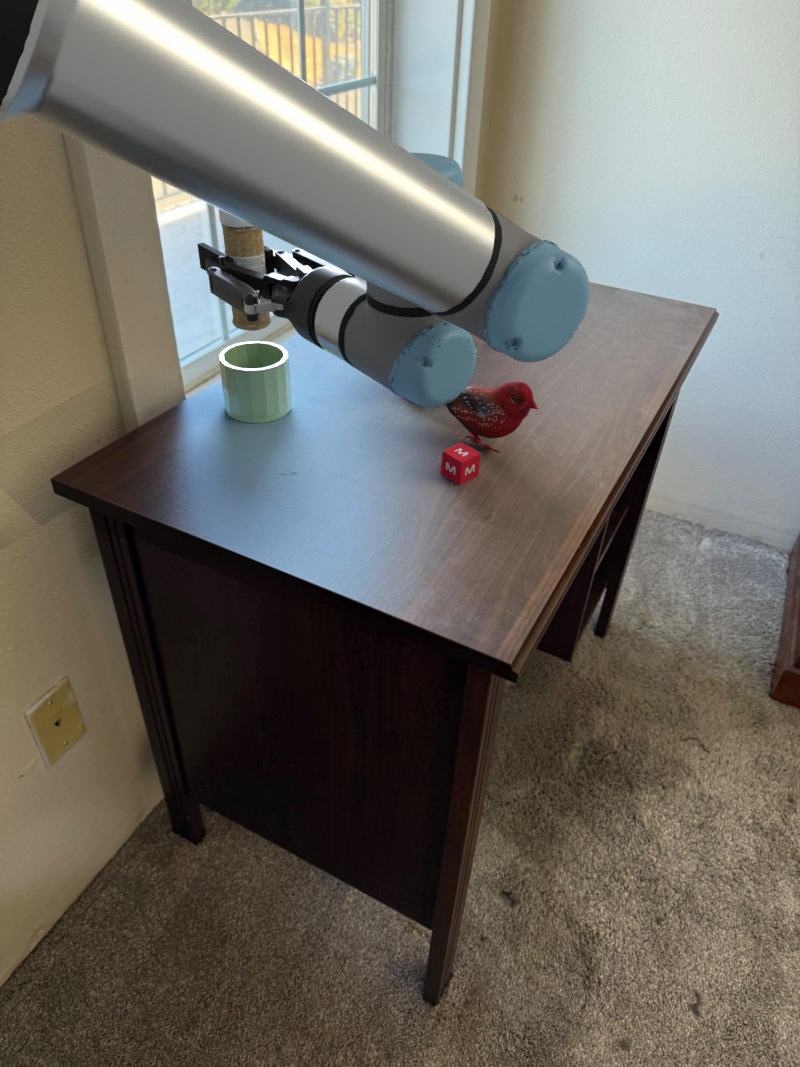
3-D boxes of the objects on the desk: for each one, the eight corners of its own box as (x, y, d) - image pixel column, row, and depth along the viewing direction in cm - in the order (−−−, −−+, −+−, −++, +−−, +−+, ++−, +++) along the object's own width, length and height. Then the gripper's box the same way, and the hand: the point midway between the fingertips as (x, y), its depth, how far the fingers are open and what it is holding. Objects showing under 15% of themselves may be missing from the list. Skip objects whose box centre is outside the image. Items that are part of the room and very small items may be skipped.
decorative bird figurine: (520, 474, 84) (533, 395, 78) (405, 418, 93) (408, 342, 87) (535, 465, 86) (549, 386, 79) (420, 410, 95) (424, 335, 89)
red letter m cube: (478, 476, 83) (481, 453, 81) (459, 485, 82) (461, 462, 80) (459, 464, 85) (461, 442, 83) (440, 473, 83) (442, 450, 82)
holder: (226, 425, 90) (219, 372, 86) (224, 394, 96) (218, 343, 92) (294, 420, 92) (291, 368, 87) (288, 389, 98) (284, 339, 94)
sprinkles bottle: (269, 315, 89) (260, 196, 81) (273, 331, 86) (263, 208, 77) (231, 317, 88) (217, 197, 80) (232, 333, 85) (218, 209, 77)
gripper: (268, 375, 70) (156, 299, 84) (409, 331, 79) (287, 269, 93) (262, 297, 65) (144, 230, 79) (412, 259, 74) (283, 205, 88)
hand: (221, 251), depth 86 cm, fingers closed on sprinkles bottle, 4 cm apart
